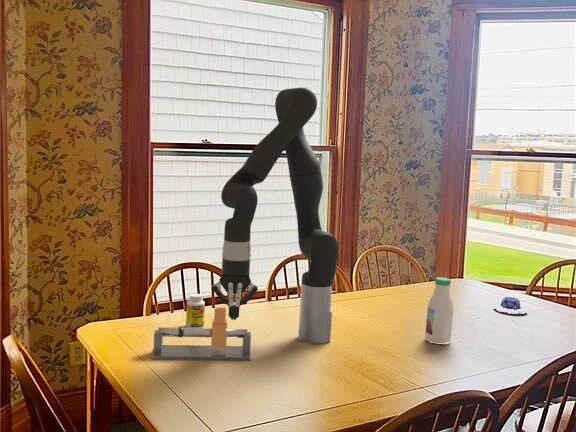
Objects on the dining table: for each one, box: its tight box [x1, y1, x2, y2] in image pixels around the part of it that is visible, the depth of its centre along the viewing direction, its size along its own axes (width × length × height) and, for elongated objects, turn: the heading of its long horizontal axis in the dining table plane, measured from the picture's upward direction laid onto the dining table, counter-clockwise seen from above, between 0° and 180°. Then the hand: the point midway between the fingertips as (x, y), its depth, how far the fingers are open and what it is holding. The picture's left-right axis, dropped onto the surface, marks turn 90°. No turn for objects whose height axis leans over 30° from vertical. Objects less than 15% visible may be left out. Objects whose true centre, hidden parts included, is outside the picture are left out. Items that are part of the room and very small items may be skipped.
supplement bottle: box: [185, 293, 206, 328], centre depth 192 cm, size 6×6×10 cm
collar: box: [210, 306, 228, 347], centre depth 169 cm, size 4×6×10 cm, turn 6°
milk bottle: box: [424, 277, 454, 343], centre depth 190 cm, size 8×8×20 cm
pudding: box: [499, 296, 522, 310], centre depth 231 cm, size 12×12×5 cm
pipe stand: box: [151, 326, 252, 361], centre depth 169 cm, size 26×9×7 cm, turn 96°
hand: (233, 318), depth 169 cm, fingers closed
